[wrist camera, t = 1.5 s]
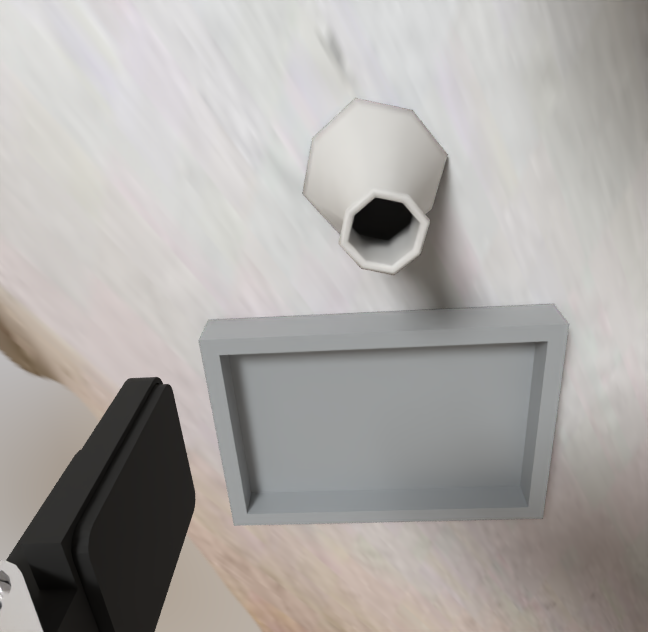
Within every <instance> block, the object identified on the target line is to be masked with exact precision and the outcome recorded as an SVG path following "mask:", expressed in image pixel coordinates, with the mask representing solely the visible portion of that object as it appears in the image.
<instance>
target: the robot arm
mask: <svg viewBox="0 0 648 632" xmlns="http://www.w3.org/2000/svg"><path fill="white" fill-rule="evenodd" d="M194 508H195V490H194V485H193V480H192V476H191V471H190V467H189V462H188V458H187V453H186V449H185V444H184V440H183V435H182V431H181V426H180V422H179V417H178V412H177V408H176V403H175V399H174V394H173V390H172V387H171V386H170V385H169V384H163V383H162V381H161V379H160V378H158V377H150V378H130V379H128V380H127V381H126V382H125V383H124V385H123V386H122V388H121V389H120V391H119V392H118V394H117V395H116V397H115V399H114V400H113V402H112V403H111V405H110V406H109V408H108V409H107V411H106V412H105V414H104V416H103V417H102V419H101V420H100V422H99V423H98V425H97V426H96V428H95V429H94V431H93V433H92V434H91V436H90V437H89V439H88V440H87V442H86V443H85V445H84V446H83V448H82V450H79V452H78V453H77V454H76V455H75V456H74V458H73V459H72V461H71V462H70V464H69V465H68V467H67V468H66V470H65V471H64V473H63V474H62V476H61V478H60V479H59V481H58V482H57V483H56V485H55V486H54V488H53V490H52V491H51V493H50V494H49V496H48V497H47V499H46V500H45V502H44V503H43V505H42V506H41V508H40V509H39V511H38V512H37V514H36V516H35V517H34V519H33V520H32V522H31V523H30V525H29V526H28V528H27V529H26V531H25V532H24V534H23V536H22V537H21V538H20V540H19V542H18V543H17V545H16V546H15V548H14V549H13V551H12V552H11V554H10V555H9V557H8V558H7V560H0V632H154V631H155V629H156V625H157V622H158V619H159V616H160V613H161V610H162V607H163V604H164V601H165V598H166V595H167V592H168V588H169V586H170V582H171V579H172V576H173V573H174V570H175V567H176V564H177V561H178V558H179V555H180V551H181V549H182V546H183V543H184V539H185V536H186V533H187V530H188V527H189V524H190V521H191V518H192V515H193V512H194Z"/></svg>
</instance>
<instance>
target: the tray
mask: <svg viewBox="0 0 648 632" xmlns="http://www.w3.org/2000/svg"><path fill="white" fill-rule="evenodd" d="M568 329H569V323H568V322H567V320H566V319H565V318H564V316H563V315H562V314H561V312H560V311H559V310H558V309H557V307H556V306H555V305H554V304H540V305H518V306H497V307H475V308H454V309H432V310H411V311H389V312H368V313H347V314H325V315H304V316H282V317H261V318H239V319H218V320H208V322H207V324H206V326H205V328H204V330H203V332H202V334H201V336H200V338H199V345H200V350H201V356H202V361H203V366H204V371H205V377H206V382H207V387H208V392H209V397H210V403H211V408H212V413H213V418H214V423H215V429H216V434H217V439H218V444H219V450H220V455H221V460H222V465H223V470H224V476H225V481H226V486H227V491H228V497H229V502H230V507H231V512H232V517H233V523H234V526H236V525H281V524H325V523H369V522H413V521H457V520H501V519H543V514H544V507H545V499H546V492H547V484H548V477H549V470H550V462H551V455H552V447H553V440H554V433H555V425H556V418H557V411H558V403H559V396H560V388H561V381H562V374H563V366H564V359H565V351H566V344H567V337H568Z"/></svg>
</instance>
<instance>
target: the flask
mask: <svg viewBox="0 0 648 632" xmlns="http://www.w3.org/2000/svg"><path fill="white" fill-rule="evenodd" d="M447 155H448V154H447V153H446V152H445V151H444V149H443V148H442V147H441V146H440V144H439V143H438V142H437V140H436V139H435V138H434V137H433V135H432V134H431V133H430V132H429V130H428V129H427V128H426V127H425V125H424V124H423V123H422V121H421V120H420V119H419V118H418V116H417V115H416V114H415V113H414V111H413V110H410V109H405V108H400V107H396V106H391V105H386V104H382V103H377V102H372V101H367V100H363V99H358V98H355V99H354V100H353V101H351V102H350V103H349V104H348V105H347V106H346V107H345V108H344V109H343V110H342V111H341V112H340V113H339V114H338V115H337V116H336V117H334V118H333V119H332V120H331V121H330V122H329V123H328V124H327V125H326V126H325V127H324V128H323V129H322V130H321V131H320V132H318V133H317V134H316V135H315V136H314V137H313V138H312V142H311V148H310V153H309V159H308V165H307V170H306V176H305V181H304V187H303V192H302V194H303V195H304V196H305V197H306V198H307V199H308V200H309V201H310V203H311V204H312V205H313V206H314V207H315V208H316V209H317V210H318V211H319V212H320V213H321V215H322V216H323V217H324V218H325V219H326V220H327V221H328V222H329V223H330V224H331V225H332V226H333V228H334V229H335V230H336V231H337V232H338V233H341V234H340V239H339V245H340V246H341V247H342V248H343V249H344V251H345V252H346V253H347V254H348V255H349V256H350V257H351V258H352V259H353V260H354V261H355V262H356V263H357V265H358V266H359V267H360V268H361V269H366V270H371V271H376V272H381V273H386V274H391V275H395V274H396V273H397V272H399V271H400V270H401V269H403V268H404V267H405V266H406V265H408V264H409V263H410V262H411V261H413V260H414V259H415V258H417V257H418V256H419V255H420V254H421V252H422V248H423V245H424V242H425V238H426V235H427V231H428V228H429V224H430V219H429V218H428V217H427V216H426V215H425V214H427V213H428V212H429V211H430V210H431V209H432V208H433V204H434V201H435V197H436V194H437V190H438V187H439V183H440V180H441V176H442V173H443V169H444V166H445V162H446V159H447Z"/></svg>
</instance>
